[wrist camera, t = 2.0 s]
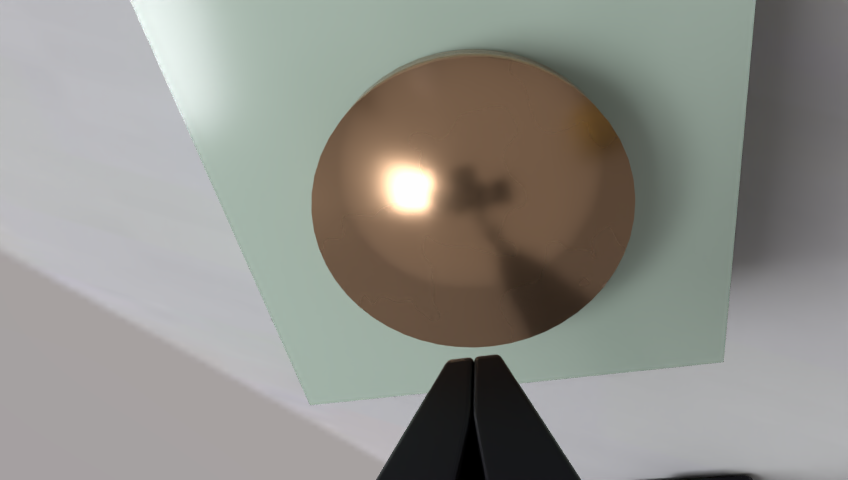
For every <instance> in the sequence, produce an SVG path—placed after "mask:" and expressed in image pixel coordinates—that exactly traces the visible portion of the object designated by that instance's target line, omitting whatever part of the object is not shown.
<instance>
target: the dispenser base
mask: <svg viewBox="0 0 848 480" xmlns="http://www.w3.org/2000/svg"><path fill="white" fill-rule="evenodd" d="M130 1H131V3H132V6H133V8H134V10H135V12H136V15H137V17H138V19H139V21H140V24H141V26H142V28H143V30H144V33H145V35H146V37H147V39H148V42H149V44H150V46H151V48H152V51H153V53H154V55H155V57H156V60H157V62H158V64H159V66H160V69H161V71H162V73H163V75H164V78H165V80H166V82H167V84H168V87H169V89H170V91H171V93H172V96H173V98H174V100H175V102H176V105H177V107H178V109H179V111H180V114H181V116H182V118H183V120H184V123H185V125H186V127H187V129H188V132H189V134H190V136H191V138H192V141H193V143H194V145H195V147H196V150H197V152H198V154H199V156H200V159H201V161H202V163H203V165H204V168H205V170H206V172H207V174H208V177H209V179H210V181H211V183H212V186H213V188H214V190H215V192H216V195H217V197H218V199H219V201H220V204H221V206H222V208H223V210H224V213H225V215H226V217H227V219H228V222H229V224H230V226H231V228H232V231H233V233H234V235H235V237H236V240H237V242H238V244H239V246H240V249H241V251H242V253H243V255H244V258H245V260H246V262H247V264H248V267H249V269H250V271H251V273H252V276H253V278H254V280H255V282H256V285H257V287H258V289H259V291H260V294H261V296H262V298H263V300H264V303H265V305H266V307H267V309H268V312H269V314H270V316H271V318H272V321H273V323H274V325H275V327H276V330H277V332H278V334H279V336H280V339H281V341H282V343H283V345H284V348H285V350H286V352H287V354H288V357H289V359H290V361H291V363H292V366H293V368H294V370H295V372H296V375H297V377H298V379H299V381H300V384H301V386H302V388H303V390H304V393H305V395H306V397H307V399H308V402H309V404H310V405H318V404H327V403H337V402H346V401H356V400H366V399H375V398H385V397H394V396H404V395H413V394H423V393H428V392H429V390H430V389H431V387H432V385H433V384H434V382H435V380H436V379H437V377H438V375H439V374H440V372H441V370H442V369H443V367H444V365H445V364H446V362H447V361H449V360H451V359H460V358H472V359H473V360H475V358H476V357H478V356H486V355H495V354H497V355H500V356H501V357H502V359H503V360H504V362H505V363H506V365H507V366H508V368H509V370H510V371H511V373H512V374H513V376H514V377H515V379H516V380H517V382H518V383H529V382H538V381H548V380H557V379H567V378H577V377H586V376H596V375H605V374H615V373H625V372H634V371H644V370H653V369H663V368H673V367H682V366H692V365H701V364H711V363H721V362H724V352H725V341H726V329H727V318H728V307H729V296H730V284H731V273H732V262H733V251H734V240H735V228H736V217H737V206H738V195H739V183H740V172H741V161H742V150H743V139H744V127H745V116H746V105H747V94H748V82H749V71H750V60H751V49H752V37H753V26H754V15H755V4H756V0H130ZM459 49H489V50H496V51H504V52H509V53H513V54H516V55H520V56H523V57H527V58H530V59H532V60H534V61H536V62H539V63H541V64H543V65H546V66H548V67H550V68H551V69H553V70H554V71H556V72H558V73H559V74H561V75H562V76H564V77H566V78H567V79H568V80H569V81H571V82H572V83H573V84H574V85H575V86H576V87H578V88H579V89H580V90H581V91H582V92H583V93H584V94H585V95H586V96H587V97H588V98H589V99H590V101H591V102H592V103H593V104H594V105H595V106H596V107H597V108H598V110H599V111H600V112H601V113H602V114H603V115H604V117H605V118H606V119H607V120H608V121H609V123H610V124H611V126H612V127H613V129H614V131H615V132H616V134H617V135H618V137H619V139H620V140H621V143H622V145H623V147H624V150H625V152H626V154H627V157H628V159H629V163H630V167H631V171H632V175H633V179H634V189H635V213H634V222H633V226H632V231H631V236H630V239H629V242H628V245H627V247H626V250H625V253H624V255H623V257H622V259H621V261H620V263H619V265H618V267H617V269H616V271H615V272H614V274H613V275H612V276H611V278H610V279H609V281H608V282H607V283H606V285H605V286H604V288H603V289H602V290H601V291H600V292H599V293H598V294H597V295H596V296H595V297H594V298H593V299H592V301H590V302H589V303H588V304H587V305H586V306H585V307H583V308H582V309H581V310H580V311H579V312H578V313H576V314H575V315H573V316H572V317H570V318H569V319H567V320H566V321H564V322H563V323H561V324H559V325H557V326H555V327H553V328H552V329H550V330H548V331H546V332H543V333H541V334H538V335H536V336H533V337H531V338H528V339H524V340H521V341H517V342H514V343H510V344H504V345H498V346H491V347H476V348H472V347H453V346H445V345H438V344H434V343H430V342H426V341H421V340H418V339H416V338H413V337H410V336H407V335H404V334H402V333H400V332H398V331H396V330H394V329H392V328H389V327H387V326H386V325H384V324H383V323H381V322H379V321H378V320H376V319H375V318H373V317H372V316H370V315H369V314H368V313H367V312H365V311H364V310H363V309H361V308H360V307H359V306H358V305H357V304H356V303H355V302H354V301H353V300H352V299H351V298H350V297H349V296H348V295H347V294H346V293H345V292H344V291H343V289H342V288H341V287H340V285H339V284H338V283H337V282H336V280H335V279H334V277H333V276H332V274H331V272H330V271H329V269H328V267H327V266H326V264H325V261H324V259H323V257H322V254H321V252H320V250H319V247H318V243H317V240H316V236H315V233H314V228H313V220H312V213H311V205H312V188H313V181H314V175H315V172H316V169H317V165H318V162H319V159H320V156H321V154H322V152H323V149H324V147H325V145H326V143H327V141H328V139H329V137H330V136H331V134H332V133H333V131H334V130H335V128H336V127H337V125H338V124H339V122H340V121H341V119H342V118H343V117H344V115H345V114H346V113H347V112H348V110H349V109H350V108H351V106H352V105H353V104H354V103H355V102H356V101H357V100H358V99H359V97H360V96H361V95H362V94H363V93H364V92H365V91H366V90H367V89H369V88H370V87H371V86H372V85H373V84H375V83H376V82H377V81H378V80H379V79H381V78H382V77H384V76H385V75H387V74H389V73H390V72H392V71H393V70H395V69H397V68H398V67H400V66H403V65H405V64H407V63H409V62H412V61H414V60H416V59H418V58H422V57H425V56H429V55H432V54H436V53H439V52H446V51H452V50H459Z"/></svg>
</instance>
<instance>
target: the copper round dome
mask: <svg viewBox="0 0 848 480" xmlns="http://www.w3.org/2000/svg"><path fill="white" fill-rule="evenodd" d="M311 213H312V220H313V228H314V233H315V236H316V240H317V243H318V247H319V250H320V252H321V254H322V257H323V259H324V261H325V264H326V266H327V267H328V269H329V271H330V272H331V274H332V276H333V277H334V279H335V280H336V282H337V283H338V284H339V285H340V287H341V288H342V289H343V291H344V292H345V293H346V294H347V295H348V296H349V297H350V298H351V299H352V300H353V301H354V302H355V303H356V304H357V305H358V306H359V307H360V308H361V309H363V310H364V311H365V312H367V313H368V314H369V315H370V316H372V317H373V318H375V319H376V320H378V321H379V322H381V323H383V324H384V325H386V326H387V327H389V328H392V329H394V330H396V331H398V332H400V333H402V334H404V335H407V336H410V337H413V338H416V339H418V340H421V341H426V342H430V343H434V344H438V345H445V346H453V347H472V348H476V347H491V346H498V345H504V344H510V343H514V342H517V341H521V340H524V339H528V338H531V337H533V336H536V335H538V334H541V333H543V332H546V331H548V330H550V329H552V328H553V327H555V326H557V325H559V324H561V323H563V322H564V321H566V320H567V319H569V318H570V317H572V316H573V315H575V314H576V313H578V312H579V311H580V310H581V309H582V308H583V307H585V306H586V305H587V304H588V303H589V302H590V301H592V299H593V298H594V297H595V296H596V295H597V294H598V293H599V292H600V291H601V290H602V289H603V288H604V286H605V285H606V283H607V282H608V281H609V279H610V278H611V276H612V275H613V274H614V272H615V271H616V269H617V267H618V265H619V263H620V261H621V259H622V257H623V255H624V253H625V250H626V247H627V245H628V242H629V239H630V236H631V231H632V226H633V222H634V213H635V189H634V179H633V175H632V171H631V167H630V163H629V159H628V157H627V154H626V152H625V150H624V147H623V145H622V143H621V140H620V139H619V137H618V135H617V134H616V132H615V131H614V129H613V127H612V126H611V124H610V123H609V121H608V120H607V119H606V118H605V117H604V115H603V114H602V113H601V112H600V111H599V110H598V108H597V107H596V106H595V105H594V104H593V103H592V102H591V101H590V99H589V98H588V97H587V96H586V95H585V94H584V93H583V92H582V91H581V90H580V89H579V88H578V87H576V86H575V85H574V84H573V83H572V82H571V81H569V80H568V79H567V78H566V77H564V76H562V75H561V74H559V73H558V72H556V71H554V70H553V69H551V68H550V67H548V66H546V65H543V64H541V63H539V62H536V61H534V60H532V59H530V58H527V57H523V56H520V55H516V54H513V53H509V52H504V51H496V50H489V49H459V50H452V51H446V52H439V53H436V54H432V55H429V56H425V57H422V58H418V59H416V60H414V61H412V62H409V63H407V64H405V65H403V66H400V67H398V68H397V69H395V70H393V71H392V72H390V73H389V74H387V75H385V76H384V77H382V78H381V79H379V80H378V81H377V82H376V83H375V84H373V85H372V86H371V87H370V88H369V89H367V90H366V91H365V92H364V93H363V94H362V95H361V96H360V97H359V99H358V100H357V101H356V102H355V103H354V104H353V105H352V106H351V108H350V109H349V110H348V112H347V113H346V114H345V115H344V117H343V118H342V119H341V121H340V122H339V124H338V125H337V127H336V128H335V130H334V131H333V133H332V134H331V136H330V137H329V139H328V141H327V143H326V145H325V147H324V149H323V152H322V154H321V156H320V159H319V162H318V165H317V169H316V172H315V175H314V181H313V188H312V205H311Z"/></svg>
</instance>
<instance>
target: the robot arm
mask: <svg viewBox="0 0 848 480" xmlns="http://www.w3.org/2000/svg"><path fill="white" fill-rule="evenodd" d="M376 480H581V479H580V477H579V476H578V474H577V473H576V471H575V470H574V468H573V467H572V465H571V463H570V462H569V460H568V459H567V457H566V456H565V454H564V453H563V451H562V450H561V448H560V447H559V445H558V443H557V442H556V440H555V439H554V437H553V436H552V434H551V433H550V431H549V430H548V428H547V426H546V425H545V423H544V422H543V420H542V419H541V417H540V416H539V414H538V413H537V411H536V410H535V408H534V406H533V405H532V403H531V402H530V400H529V399H528V397H527V396H526V394H525V393H524V391H523V390H522V388H521V386H520V385H519V383H518V382H517V380H516V379H515V377H514V376H513V374H512V373H511V371H510V370H509V368H508V366H507V365H506V363H505V362H504V360H503V359H502V357H501V356H500V355H497V354H495V355H486V356H478V357H476V358H475V360H473V359H472V358H460V359H451V360H449V361H447V362H446V364H445V365H444V367H443V369H442V370H441V372H440V374H439V375H438V377H437V379H436V380H435V382H434V384H433V385H432V387H431V389H430V390H429V392H428V394H427V395H426V397H425V399H424V400H423V402H422V404H421V405H420V407H419V409H418V410H417V412H416V414H415V415H414V417H413V419H412V421H411V422H410V424H409V426H408V427H407V429H406V431H405V432H404V434H403V436H402V437H401V439H400V441H399V442H398V444H397V446H396V447H395V449H394V451H393V452H392V454H391V456H390V457H389V459H388V461H387V462H386V464H385V466H384V467H383V469H382V471H381V472H380V474H379V476H378V477H377V479H376ZM693 480H753V479H752V478H751V477H749V476H736V477H721V478H707V479H693Z"/></svg>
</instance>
